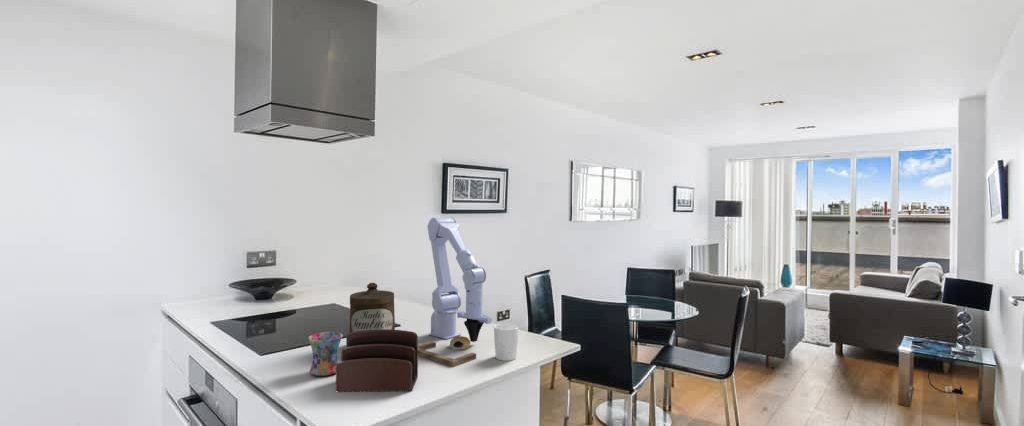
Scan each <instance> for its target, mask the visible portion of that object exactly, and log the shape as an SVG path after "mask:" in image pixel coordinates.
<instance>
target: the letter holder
mask: <svg viewBox="0 0 1024 426" xmlns="http://www.w3.org/2000/svg"><path fill="white" fill-rule="evenodd" d="M418 338H419V337H418V334H417V333H416V332H415V331H410V330H401V329H395V330H387V329H380V330H363V331H356V332H350V331H349V332H348V333H347V334H346V337H345V339H346V341H345V343H346V345H345V347H343V348H342V350H341V352H340V354H341V356H340V357H341V358H340V360H341V361H339V363H337V365H336V373H335V392H336V391H338V392H337V393H341V392H340V391H344V392H343V393H349V392H350V393H351V392H352V391H353V392H352V393H354V392H355V393H359V392H360V391H361V392H364V391H365V393H368V392H371V393H372V392H374V391H375V392H413V390H414V387H415V385H416V382H417V381H418V376H419V374H418V373H419V369H418V368H419V366H418V365H419V363H418V362H419V359H418V357H419V356H418V345H419V344H418V343H419V341H418V340H419V339H418ZM346 391H348V392H346ZM361 392H360V393H361Z"/></svg>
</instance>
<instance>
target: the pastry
mask: <svg viewBox="0 0 1024 426" xmlns="http://www.w3.org/2000/svg"><path fill="white" fill-rule="evenodd" d="M448 346H449V349H450V350H453V351H458V350H461V351H464V350H468V349H469V348H470V346H471V341H470V338H469V337H467V336H461V335H459V336H455V337H452V338H451V340H450V341H449V345H448Z"/></svg>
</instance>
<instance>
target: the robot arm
mask: <svg viewBox="0 0 1024 426" xmlns="http://www.w3.org/2000/svg"><path fill="white" fill-rule="evenodd" d="M426 226H427V227H426V228H427V233H428V238H429V239H428V240H429V241H430V245H431V251H432V258H433V264H434V271H435V279H436V285H437V287H436V288H434V290H433V291H432V292H431V294H432V295H431V296H432V300H431V306H432V309H433V310H434V311H433V312H432V314H431V316H430V332H429V333H428V335H430V336H432V337H433V336H434V337H436V338H440V339H444V340H448V339H453V338H454V337H457V336H461V335H462V333H460V332H457V318H458V319H459V318H462V319H466V320H465V321H463V324H464V326H465V327H466V328H465V329H466V331H467V333H468V335H469V337H468V338H469V340H470V343H471V342H472V343H474V342H475V343H476V342H477V341H478V338H479V335H480V332H481V329H482V327H483V325H484V324H486V325H489V324H492V317H491V316H487V315H485V314H484V312H483V283H485V281H486V279H487V272H486V269H485V268H484V267H483V266H480V264H478V262H477V261H476V260H475V258H474V257H475V256H473V254H472V252H471V251H470V250H469V249H466V247H465V245H464V243H463V239H462V238H461V235H460V233H459V226H460V225H459V223H458V221H457V219H456V218H455V217H453V216H451V217H432V218H430V220H429V221H428V224H427V225H426ZM447 242H449V244H450V245H451V246H452V248H453V249H454V251H455V253H456V256H455V260H456V261H457V264H458V265H459V267H460V269H461V271H462V273H463V274H462V277H461V278H462V281H463V283H464V290H465V311H459V309H460V307H461V305H462V297H461V295H460V292H459V289H458V288H457V287H456V286H455V285H453V284H452V278H451V272H450V271H451V270H450V266H449V259H448V253H447V246H446V244H447Z"/></svg>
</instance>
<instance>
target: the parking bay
mask: <svg viewBox="0 0 1024 426" xmlns="http://www.w3.org/2000/svg"><path fill="white" fill-rule="evenodd" d="M436 347H437V342H435V341H428V342H425V343H422V344H418V357H421V358H425V359H427V360H430V361H432V362H433V361H434V362H437V363H440V364H443V365H447V366H450V367H453V368H454V367H457V366H460V365H462V364H465V363H469V362H470V361H473V360H476V359H477V353H476V352H470V353H466V354H464V355H461V356H458V357H456V358H455V357H454V358H452V357H448V356H446V355H442V354H438V353H436V352H432V351H429V350H430V349H434V348H436Z"/></svg>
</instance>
